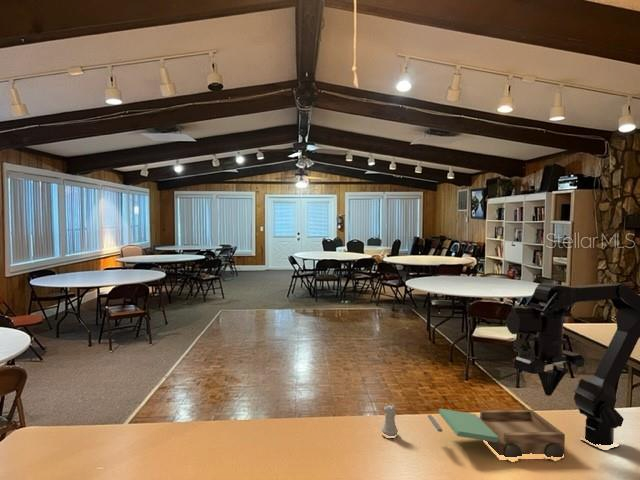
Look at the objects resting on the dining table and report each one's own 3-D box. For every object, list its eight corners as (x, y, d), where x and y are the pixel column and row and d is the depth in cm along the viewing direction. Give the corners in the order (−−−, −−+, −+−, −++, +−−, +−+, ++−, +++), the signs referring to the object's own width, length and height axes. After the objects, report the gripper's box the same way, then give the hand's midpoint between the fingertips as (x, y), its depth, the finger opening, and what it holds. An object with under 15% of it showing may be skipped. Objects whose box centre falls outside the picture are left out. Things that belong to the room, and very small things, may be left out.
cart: (529, 430, 116) (529, 408, 116) (567, 461, 100) (567, 436, 100) (472, 430, 115) (472, 408, 115) (501, 462, 99) (501, 437, 99)
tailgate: (475, 414, 113) (426, 406, 112) (498, 437, 100) (443, 428, 99) (474, 420, 113) (424, 412, 112) (497, 444, 100) (441, 436, 99)
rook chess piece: (385, 440, 109) (385, 409, 109) (378, 432, 113) (378, 403, 113) (401, 438, 110) (401, 408, 110) (393, 430, 114) (394, 401, 114)
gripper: (547, 324, 117) (545, 380, 118) (497, 329, 110) (495, 388, 110) (586, 333, 107) (584, 394, 107) (534, 339, 100) (532, 405, 100)
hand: (548, 395), depth 106 cm, fingers closed
